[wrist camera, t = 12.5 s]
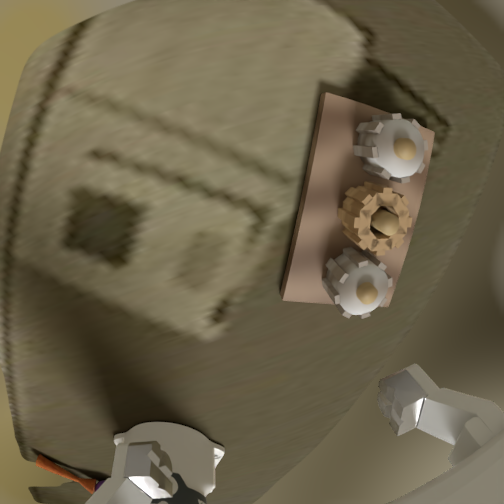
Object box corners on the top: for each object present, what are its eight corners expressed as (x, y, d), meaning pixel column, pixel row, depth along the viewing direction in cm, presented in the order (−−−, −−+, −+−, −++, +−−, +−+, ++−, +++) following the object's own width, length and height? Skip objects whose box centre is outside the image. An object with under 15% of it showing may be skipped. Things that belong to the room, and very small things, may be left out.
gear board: (382, 301, 37) (407, 328, 31) (279, 294, 34) (293, 325, 28) (427, 131, 30) (463, 134, 24) (320, 94, 27) (347, 84, 21)
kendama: (33, 461, 38) (120, 500, 42) (42, 444, 44) (124, 481, 48) (34, 474, 39) (117, 511, 42) (42, 458, 45) (121, 493, 48)
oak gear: (361, 254, 32) (378, 268, 29) (325, 212, 30) (340, 223, 26) (401, 212, 31) (421, 222, 28) (369, 168, 29) (389, 173, 25)
